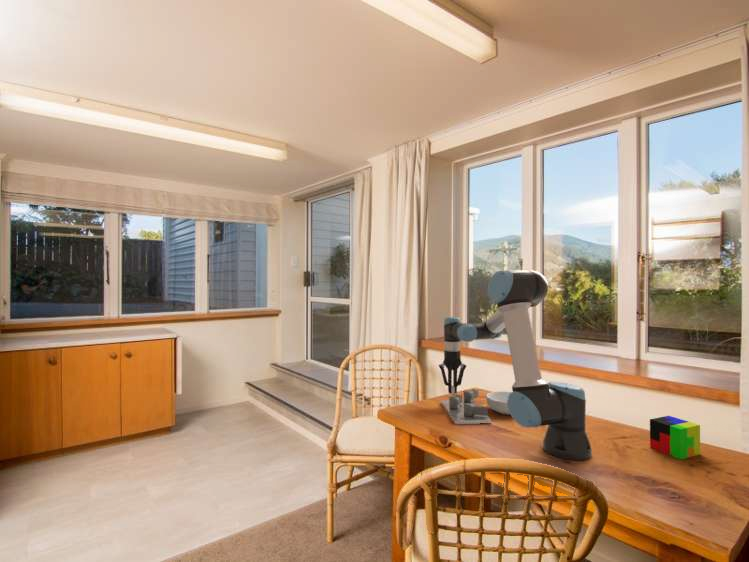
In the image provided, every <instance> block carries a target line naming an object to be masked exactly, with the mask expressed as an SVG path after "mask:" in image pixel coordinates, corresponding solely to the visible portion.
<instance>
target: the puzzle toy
mask: <svg viewBox="0 0 749 562" xmlns="http://www.w3.org/2000/svg"><path fill="white" fill-rule="evenodd" d="M650 447H651V449H653V450H655V449H656V451H658V452H661V453H663V452H664V454H665V455H666V454H667V455H668V454H669V456H671V455H672V456H671V457H674V458H676V459H680V460H685V459H688V458H691V456H692V457H695V455H696V456H699V455H701V425H700V424H698V423H694V422H691V421H687V420H684V419H681V418H677V417H675V416H672V415H665V416H661V417H660V416H659V417H655V418H650V419H649V448H650Z"/></svg>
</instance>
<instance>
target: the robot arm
mask: <svg viewBox="0 0 749 562" xmlns="http://www.w3.org/2000/svg"><path fill="white" fill-rule="evenodd" d="M548 292H549V283H548V281H547V279H546V277H545V276H544V275H543V274H542V273H540V272H538V271H536V270H532V269H531V270H530V269H527V270H517V269H516V270H515V269H514V270H513V269H506V270H499V271H496V272H494V273H493V275H491V277H490V279H489V282H488V285H487V295H488V298H489V299H490V301H491V302H493V303H494V304H496V307H497V310H496V311H495V312H494V313H493V314H492V315H491V316H490V317H488V319H486V320H485V321H484V322H469V323H468V322H467V323H463V322H461V318H460V317H458V316H447V317H445V318H444V319H443V320H444V321H443V323H444V324H443V337H444V338H443V339H444V341H443V343H444V345H443V346H444V347H443V348H444V350H443V353H444V355H443V357H444V358H443V359H444V360H443V362H442V363H441V364H438V367H439V369H440V372H441V376H442V379H443V384H444V385H445V386H448V387H447V393H448V394H449V397H451V396H455V395H456V394H457V392H458V386H461V385H462V381H463V377H464V372H465V370H466V367H467V365H466V364H464V363H463V362H462V360H461V359H462V358H461V356H462V355H461V341H463V342H465V343H466V342H468V343H470V342H473V341H479V340H494V339H500V338H502V337H501V336H502V334H503V330H504V329H505V331H506V332H505V333H506V337H507V341H508V342H507V343H508V348H509V352H510V358H511V365H512V370H513V375H514V383H513V384H512V385H511V390H512V391H511V392H512V393H511V394H510V395H509V396H508V398H509V399H508V400H507V404H508V409H509V412H510V414H511V417H512V419H513V420H514V421H515V423H516V424H517V425H519V426H521V427H523V428H527V429H528V428H539V427H543V426H547V428H546V432H545V435H544V438H543V440H542V448H543V450H544V451H545V452H546V453H548V454H550V455H551V456H553V457H554V456H555V457H556V458H559V459H563V460H571V461H586V460H588V459H591V457H592V452H593V451H592V449H593V448H592V446H591V443H590V440H589V438H588V434H587V429H586V404H587V403H586V402H587V400H586V392H585V390H584V389H583V388H582V387H581V386H578V385H575V384H572V383H568V382H562V381H561V382H560V381H549V382H547V381H546V380H544V379H543V378H542V372H541V368H540V362H539V358H538V357H539V356H538V354H537V349H536V343H535V339H534V332H533V328H532V322H531V318H530V313H529V309H530V308H534V307H536V306H538V305H539V304H540V303H542V301H544V299H545V298H546V296H547V295H548ZM445 367H446V369H447V375H446V371H445ZM459 368H460V369H459ZM458 369H459V373H458ZM452 373H453V374H452ZM452 380H453V381H452ZM452 383H453V385H452Z"/></svg>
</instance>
